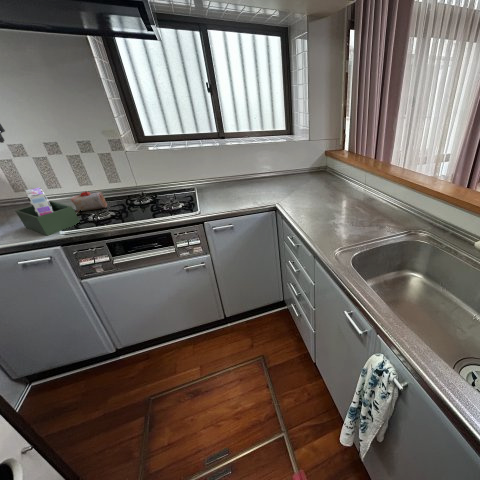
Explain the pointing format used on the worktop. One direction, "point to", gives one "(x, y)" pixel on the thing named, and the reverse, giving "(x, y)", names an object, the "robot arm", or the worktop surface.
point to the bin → (49, 218)
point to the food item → (89, 201)
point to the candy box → (39, 201)
